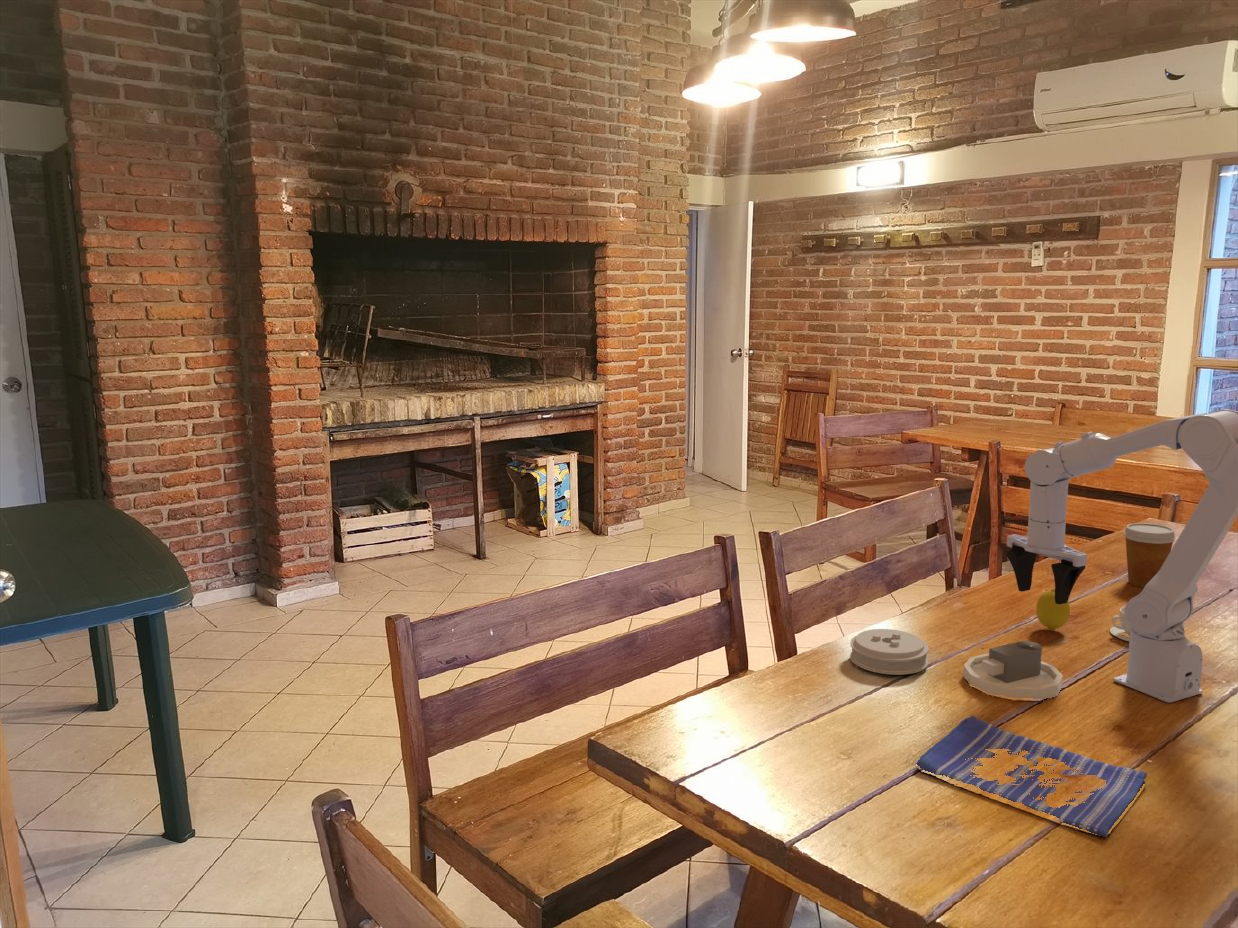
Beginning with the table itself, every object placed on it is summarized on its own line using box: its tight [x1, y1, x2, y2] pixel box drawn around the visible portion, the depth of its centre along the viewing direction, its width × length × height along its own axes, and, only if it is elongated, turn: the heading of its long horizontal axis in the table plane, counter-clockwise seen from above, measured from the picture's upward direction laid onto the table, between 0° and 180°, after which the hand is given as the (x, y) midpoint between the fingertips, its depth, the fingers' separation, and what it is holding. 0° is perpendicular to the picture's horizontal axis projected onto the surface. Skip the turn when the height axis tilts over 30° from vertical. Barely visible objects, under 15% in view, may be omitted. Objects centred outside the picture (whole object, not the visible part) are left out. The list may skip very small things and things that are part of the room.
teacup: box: [1109, 605, 1131, 643], centre depth 163 cm, size 10×10×5 cm
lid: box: [849, 628, 930, 676], centre depth 154 cm, size 13×13×5 cm
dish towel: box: [915, 715, 1148, 838], centre depth 118 cm, size 17×24×3 cm
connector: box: [981, 640, 1043, 683], centre depth 145 cm, size 4×10×4 cm, turn 114°
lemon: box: [1035, 588, 1071, 632], centre depth 167 cm, size 6×6×8 cm
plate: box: [963, 652, 1064, 699], centre depth 146 cm, size 14×14×2 cm
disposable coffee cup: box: [1122, 522, 1177, 588], centre depth 191 cm, size 10×10×12 cm
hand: (1042, 596), depth 156 cm, fingers open, 7 cm apart
